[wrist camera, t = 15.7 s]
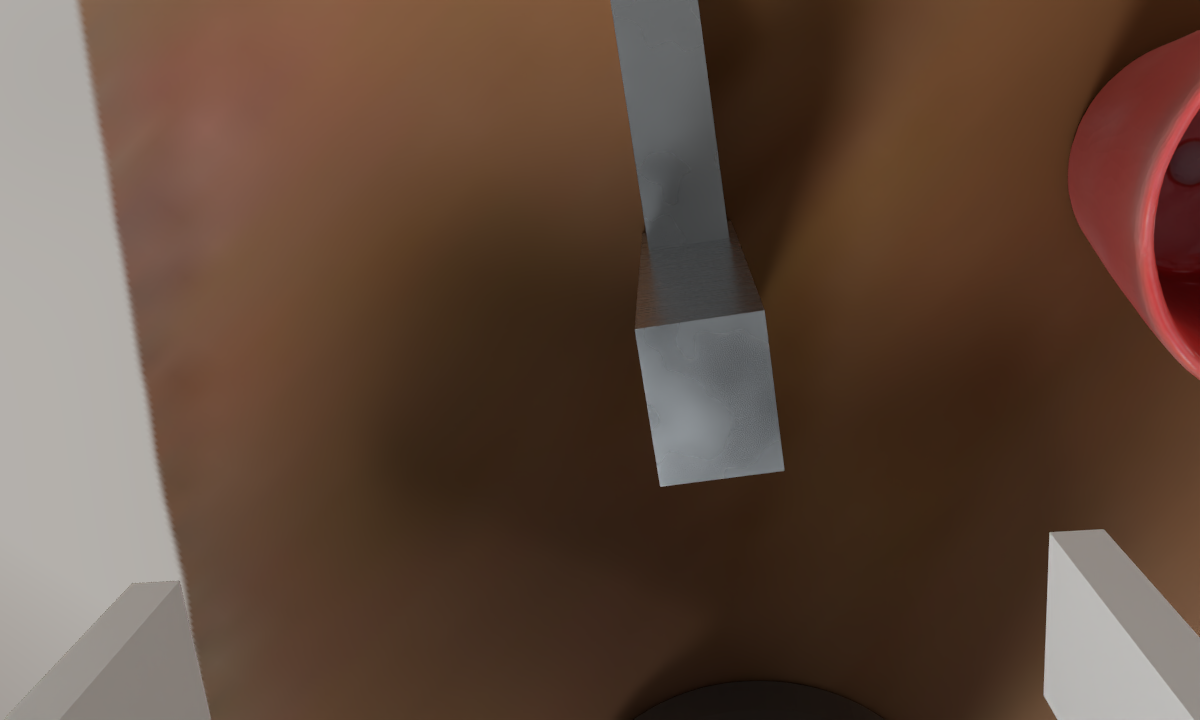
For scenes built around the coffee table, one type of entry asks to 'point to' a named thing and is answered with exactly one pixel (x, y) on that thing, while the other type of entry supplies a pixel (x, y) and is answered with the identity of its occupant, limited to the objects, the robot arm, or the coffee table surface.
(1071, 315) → the coffee table surface
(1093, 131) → the flower pot
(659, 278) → the crook
